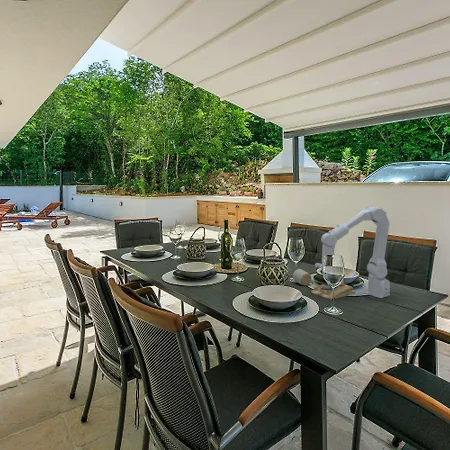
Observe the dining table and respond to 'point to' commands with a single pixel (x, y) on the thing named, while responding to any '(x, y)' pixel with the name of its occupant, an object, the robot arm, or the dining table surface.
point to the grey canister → (302, 277)
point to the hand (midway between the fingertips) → (326, 284)
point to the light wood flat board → (337, 291)
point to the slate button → (326, 287)
